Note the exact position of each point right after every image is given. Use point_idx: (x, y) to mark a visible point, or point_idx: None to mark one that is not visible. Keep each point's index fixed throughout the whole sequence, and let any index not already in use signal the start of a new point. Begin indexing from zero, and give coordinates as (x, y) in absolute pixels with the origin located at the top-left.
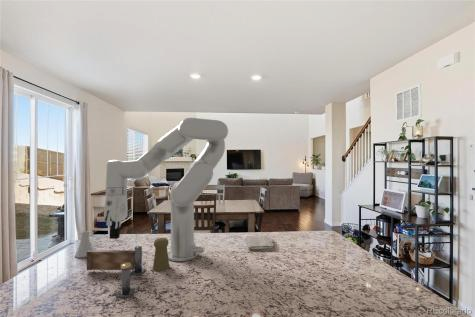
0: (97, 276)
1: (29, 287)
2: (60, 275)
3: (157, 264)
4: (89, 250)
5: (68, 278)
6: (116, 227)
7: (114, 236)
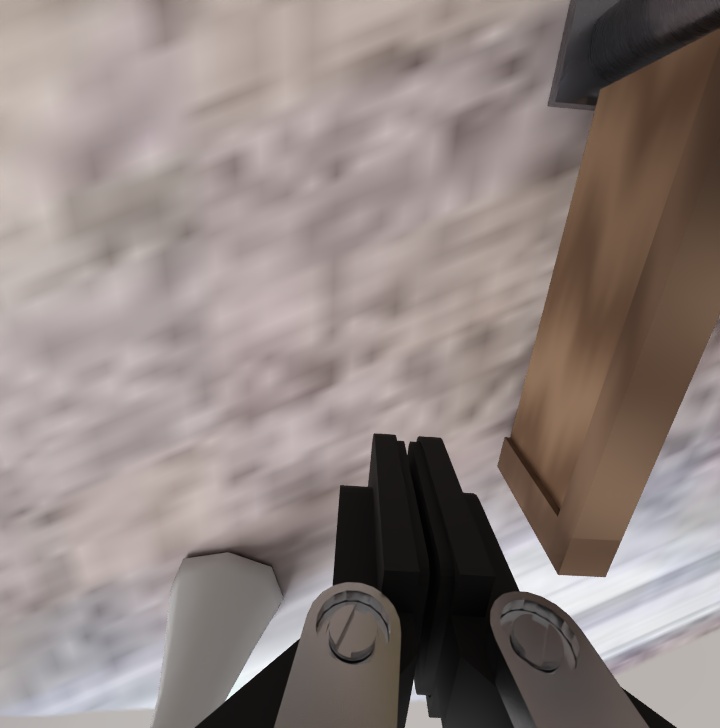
0: None
1: (636, 608)
2: (526, 563)
3: None
4: (568, 573)
5: None
6: (554, 635)
7: (472, 494)
